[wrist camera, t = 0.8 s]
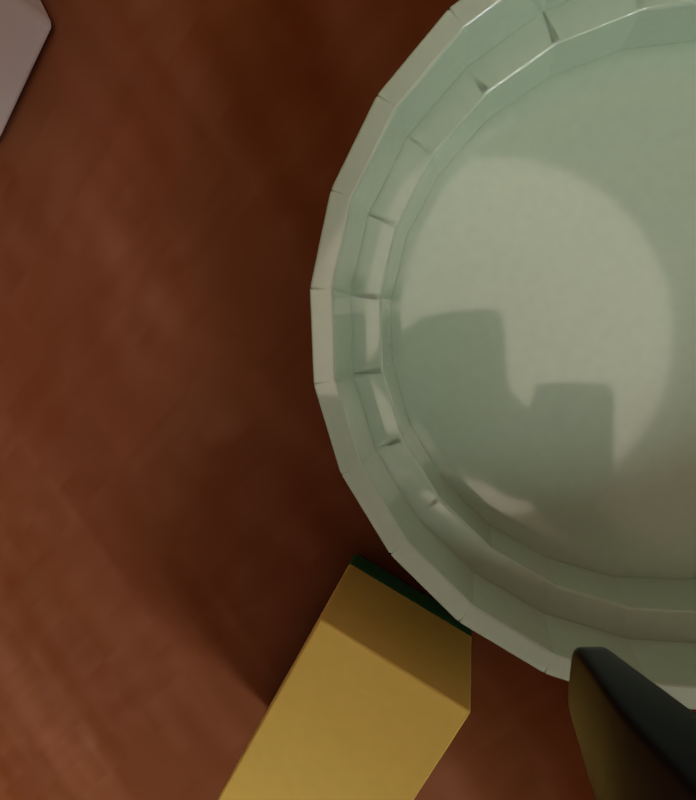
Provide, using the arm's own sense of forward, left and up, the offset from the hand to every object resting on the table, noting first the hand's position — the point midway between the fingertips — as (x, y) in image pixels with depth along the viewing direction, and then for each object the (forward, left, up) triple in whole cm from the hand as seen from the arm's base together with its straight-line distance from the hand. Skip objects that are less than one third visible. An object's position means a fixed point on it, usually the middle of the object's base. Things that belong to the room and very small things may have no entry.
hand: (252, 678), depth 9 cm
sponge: (-3, +6, -12) cm, 14 cm away
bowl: (-5, -8, -12) cm, 16 cm away
